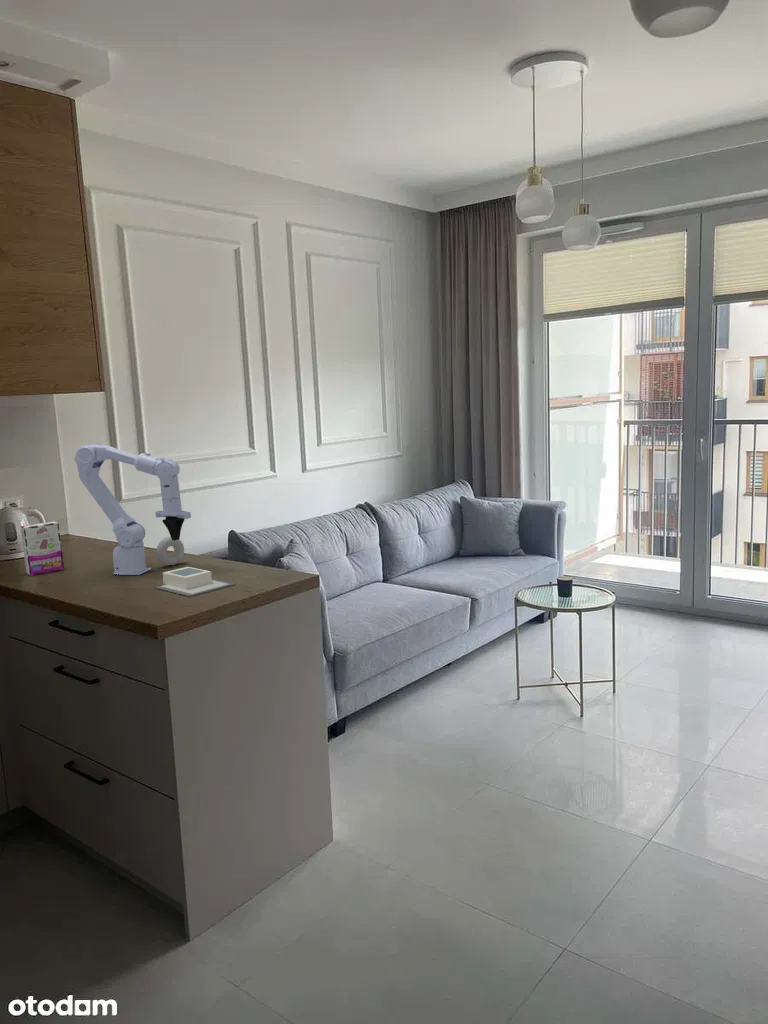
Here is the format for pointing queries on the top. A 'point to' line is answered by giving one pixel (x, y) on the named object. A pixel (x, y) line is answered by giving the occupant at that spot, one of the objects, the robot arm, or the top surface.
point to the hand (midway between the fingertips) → (175, 539)
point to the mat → (196, 588)
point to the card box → (187, 577)
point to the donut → (162, 551)
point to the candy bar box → (42, 548)
